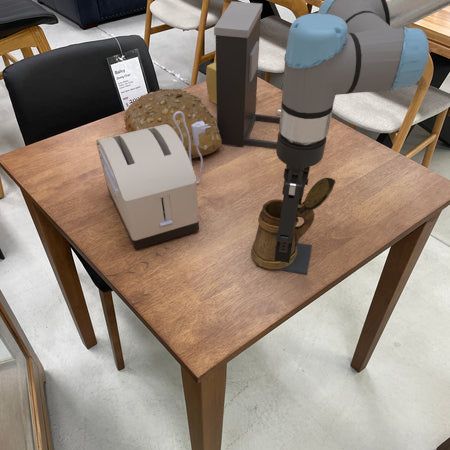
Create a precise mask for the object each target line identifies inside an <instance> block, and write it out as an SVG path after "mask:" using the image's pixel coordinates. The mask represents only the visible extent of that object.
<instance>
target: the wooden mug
mask: <svg viewBox="0 0 450 450" xmlns="http://www.w3.org/2000/svg"><path fill="white" fill-rule="evenodd" d="M335 186H336V179H334V178H332V177H323V178H321V179H319V180H317V181H316V183H315V184H313V185H312V187H311V188H310V189H309V191H308V192H307V194H306V197H305V199H304V200H303V201H302V202H301V204H300V205H298V209H297V214H296V220H295V226H294V231H293V233H294V237H293V243H292V249H291V256H290V262H289V263H287V262H281V261H275V252H276V244H277V240H276V236H273V235H274V232H275V233H278V228H279V221H280V215H281V209H282V202H283V199H280V198H279V199H276V198H275V199H270V200H268V201H266V202H265V203H264V204H263V205H262V209H261V210H260V211H259V215H258V218H257V222H258V226H257V230H256V234H255V238H254V241H253V242H252V246H251V248H250V249H251V250H250V256H251V257H252V261H254V263H256V265H257V264H258V265H260V266H262V267H261V268H264V269H269V270H276V269H279V268H284V267H287V266H289V265H290V264H292V263H293V261H294V260H295V258H296V256H297V243H299V241H300V239H301V238H302V237H303V236H304V235H305V234H306V233H307V232H308V231H309V229H310V228H311V227H312V225H313V223H314V221H315V212H314V210H316V209H318V208H319V207H320V206H321V205H323V204H324V203H325V202H326V201H327V200H328V198H329V196H330V195H331V193H332V192H333V190H334V188H335ZM299 218H302V220H303V222H302V224H301V225H298V223H299Z"/></svg>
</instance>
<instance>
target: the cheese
mask: <svg viewBox="0 0 450 450" xmlns="http://www.w3.org/2000/svg"><path fill="white" fill-rule="evenodd" d="M205 71H206V72H205V81H206V90H207V91H206V92H207V95H208V101H209V102H211V103H213V104H215V105H217V94H216V61H215V62H213V63H212V62H211V63H210V64H208V65H207V66H206V70H205Z"/></svg>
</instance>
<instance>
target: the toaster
mask: <svg viewBox="0 0 450 450" xmlns="http://www.w3.org/2000/svg"><path fill="white" fill-rule="evenodd" d="M177 114H181V115H182V116H183V123H184V126H185V129H186V132H187V135H188V139H189V157H188V155H187V152H186V150H185V148H184V146H183V143H184V140H183V135H182V132H181V130H180V128H179V126H178V124H177V122H176V120H175V116H176V115H177ZM173 120H174V122H175V124H176V126H177V128H178V130H179V133H180V135H181V140H182V142H181V140H180V138H179V137H178V135H177V134H176V132H175V131H174V130H173V129H172V128H171V127H170V126H169V125H167V124H164V125H160V126H155V127H151V128H147V129H142V130H138V131H134V132H129V133H128V132H125V133H120V134H115V135H112V136H108V137H103V138H98V139H96V140H95V144H96V148H97V152H98V155H99V160H100V164H101V168H102V171H103V176H104V179H105V183H106V187H107V191H108V194H109V196H110V198H111V201H112V203H113V205H114V207H115V209H116V212H117V214H118V216H119V218H120V220H121V222H122V225H123V227H124V228H125V232H126V233H127V236H128V238H129V240H130V242H131V244H132V247H133V248H134V249H136V250H139V249H142V248H145V247H146V248H147V247H149V246H152V245H156V244H159V243H162V242H165V241H169V240H173V239H176V238H179V237H182V236H186V235H189V234H193V233H196V232H199V231H200V223H199V222H200V220H199V204H198V189H197V185H198V184H199V183H201V182H202V180H203V175H202V171H203V164H204V161H203V160H204V158H203V156H202V155H201V154H200V152H199V149H198V145H199V135H200V134H204V133H206V128H210V127H211V126H208V124H204V122H203V121H198V122H196V123H194V124H192V125H191V127H192V134H193V139H194V145H196V149H197V152H198V154H199V156H200V157H199V158H200V166H199V167H200V168H199V180H198V181H197V177H196V176H197V175H196V174H195V171H194V167H193V161H192V158H191V140H190V135H189V131H188V129H187V126H186V123H185V116H184V114H183V113H182V112H181V111H178V112H176V113H175V114H174V115H173ZM205 126H207V127H205Z"/></svg>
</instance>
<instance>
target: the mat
mask: <svg viewBox="0 0 450 450" xmlns="http://www.w3.org/2000/svg"><path fill="white" fill-rule="evenodd" d="M312 247H313V245H312V244H307V243H301V242H298V243H297V256H296V258H295V260H294V261H293V263H292V264H290V265H289V266H287V267H284V268H279V269H275V270H276V271H282V272H288V273H293V274H299V275H305V276H306V275H308V270H309V265H310V259H311V253H312ZM255 266H256V267H260V268H263V267H262V266H260V265H258V264H257V263H256V265H255Z"/></svg>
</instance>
